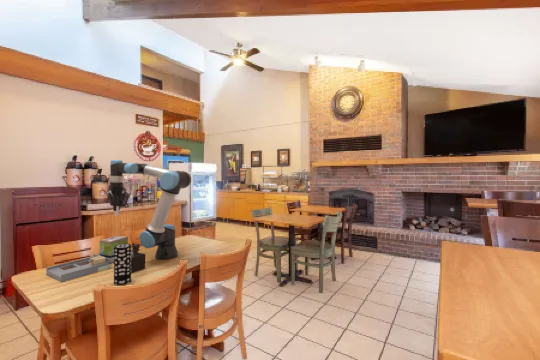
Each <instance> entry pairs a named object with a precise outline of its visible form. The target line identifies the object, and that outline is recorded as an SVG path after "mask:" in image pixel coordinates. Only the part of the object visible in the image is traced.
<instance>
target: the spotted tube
mask: <svg viewBox="0 0 540 360" xmlns="http://www.w3.org/2000/svg"><path fill="white" fill-rule="evenodd" d="M131 251H132V244H129V243H128V244H120V245H116V246H114V262H113V284H114V285H115V286H124V285H128V284H130V283H132V273H131Z"/></svg>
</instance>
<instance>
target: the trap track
mask: <svg viewBox="0 0 540 360" xmlns="http://www.w3.org/2000/svg"><path fill="white" fill-rule="evenodd" d="M98 256H100V255H99V254H96V253H93V256H90V257H89V256H88V257H85V258H80V259H76V260H72V261H68V262H64V263H60V264H56V265H51V266H48V267H45V268H46V275H47V276H49V277H50V278H52V279H54V280H57V281H58V280H59V281H58V282H60V281H61V283H65V282H67V280H68V281H70V280H71V281H72V280H74V279H77V278H82V277H84V276H88V275H92V274H94V273H95V274H96V273H99V272H102V271H105V270H108V269H112V263H111V259H109V258H106V257H105V263H103V264H99V265H95V266H92V265H90V258H94V257H98ZM102 257H103V256H102Z"/></svg>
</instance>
